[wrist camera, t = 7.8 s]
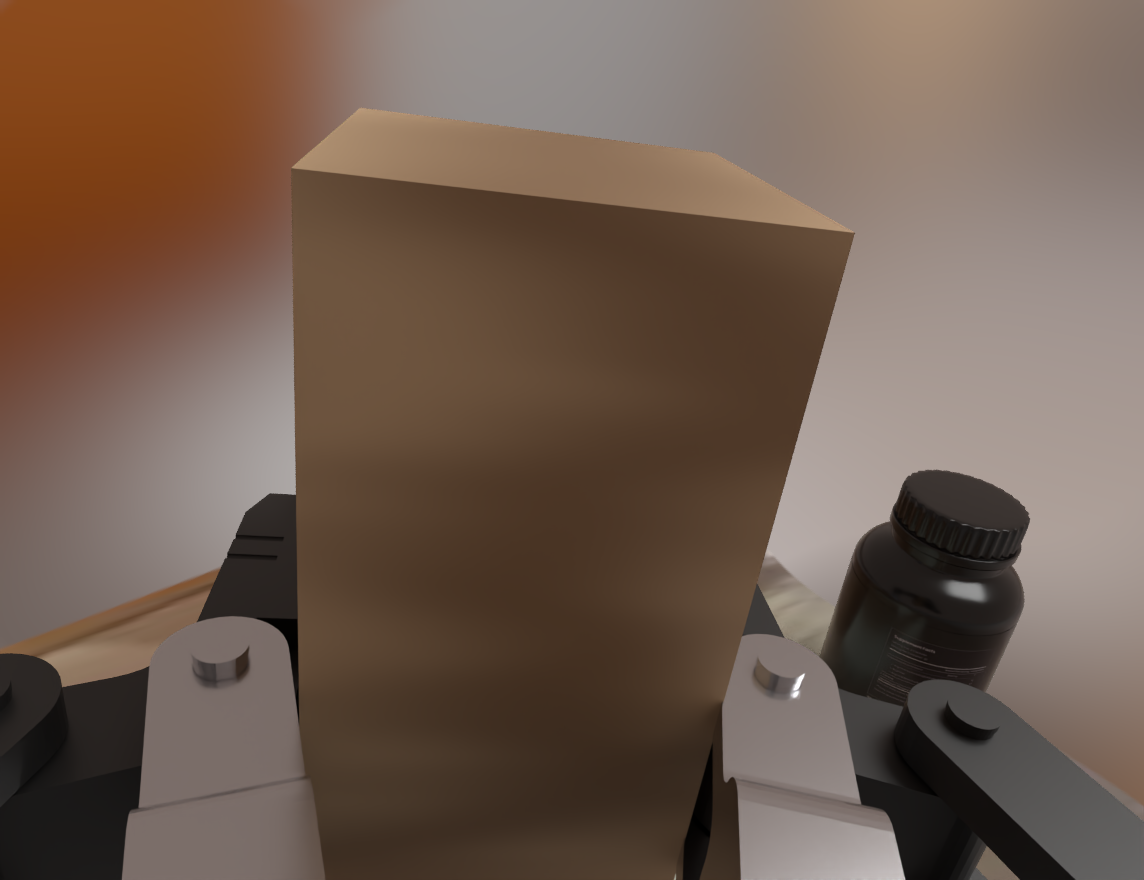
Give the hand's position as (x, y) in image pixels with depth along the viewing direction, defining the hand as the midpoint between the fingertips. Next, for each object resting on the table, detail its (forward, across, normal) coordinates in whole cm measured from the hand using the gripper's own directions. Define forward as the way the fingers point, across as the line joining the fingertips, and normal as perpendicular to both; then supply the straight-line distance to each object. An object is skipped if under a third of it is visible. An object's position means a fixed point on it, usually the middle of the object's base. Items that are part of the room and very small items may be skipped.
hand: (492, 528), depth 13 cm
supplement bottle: (+16, -20, +20) cm, 33 cm away
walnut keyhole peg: (-3, 0, +8) cm, 9 cm away
